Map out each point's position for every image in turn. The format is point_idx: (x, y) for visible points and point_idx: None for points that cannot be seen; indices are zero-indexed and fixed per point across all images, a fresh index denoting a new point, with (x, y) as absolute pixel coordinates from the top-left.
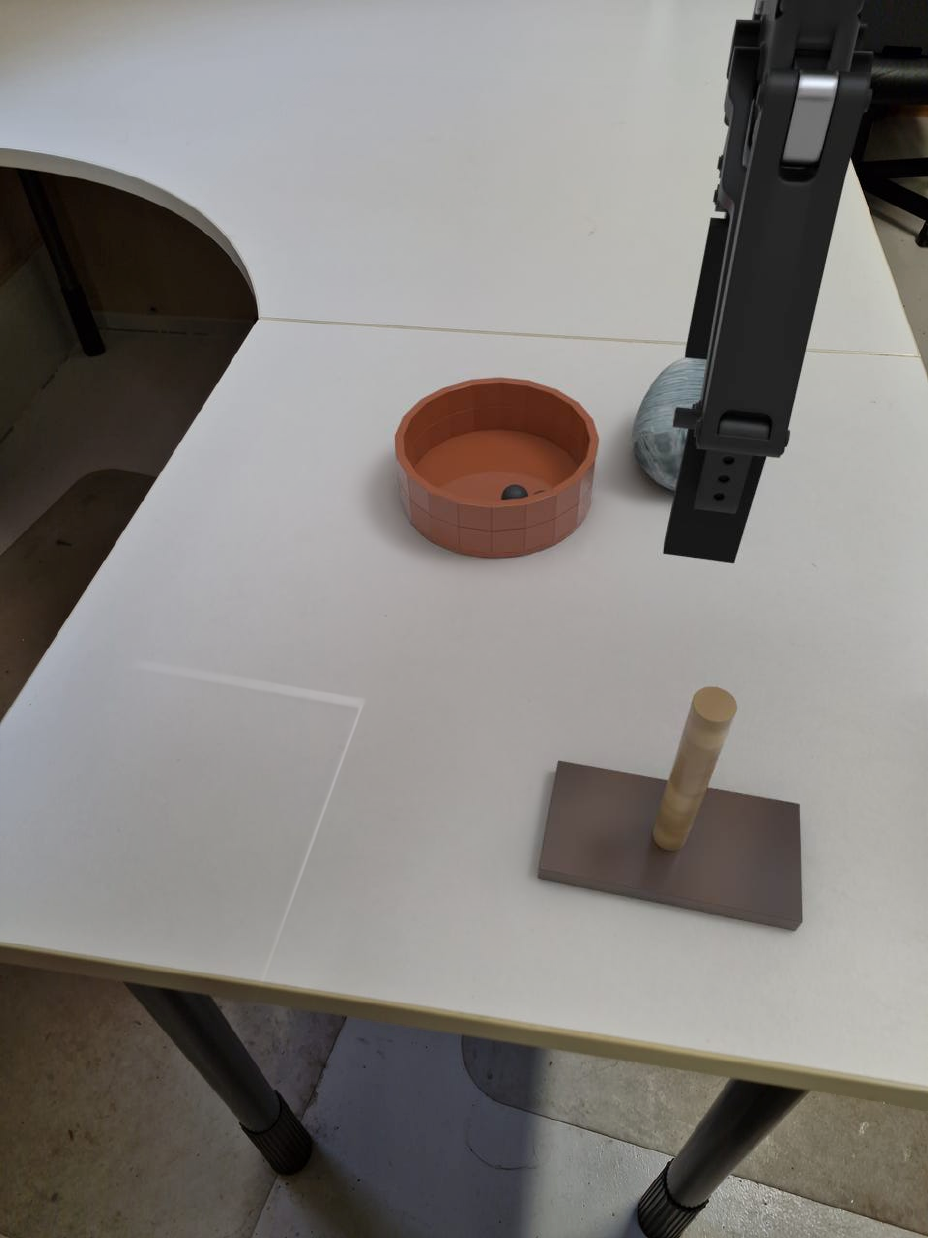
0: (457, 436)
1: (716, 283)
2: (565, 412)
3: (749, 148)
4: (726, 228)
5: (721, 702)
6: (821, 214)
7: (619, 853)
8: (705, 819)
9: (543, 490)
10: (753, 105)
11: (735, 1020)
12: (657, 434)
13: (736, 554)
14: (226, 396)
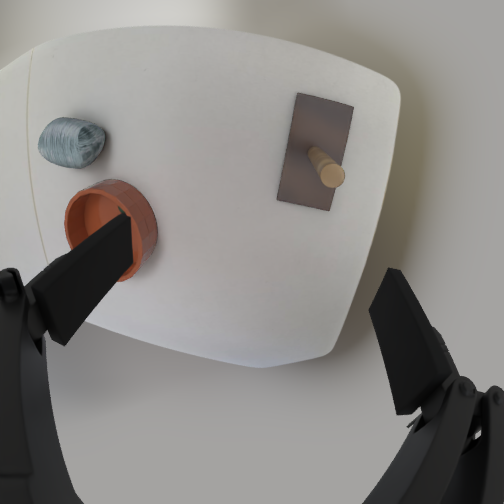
0: None
1: (92, 293)
2: (75, 203)
3: None
4: (60, 332)
5: (332, 172)
6: None
7: None
8: (307, 136)
9: (118, 208)
10: None
11: (383, 140)
12: (83, 159)
13: (403, 275)
14: (103, 326)
